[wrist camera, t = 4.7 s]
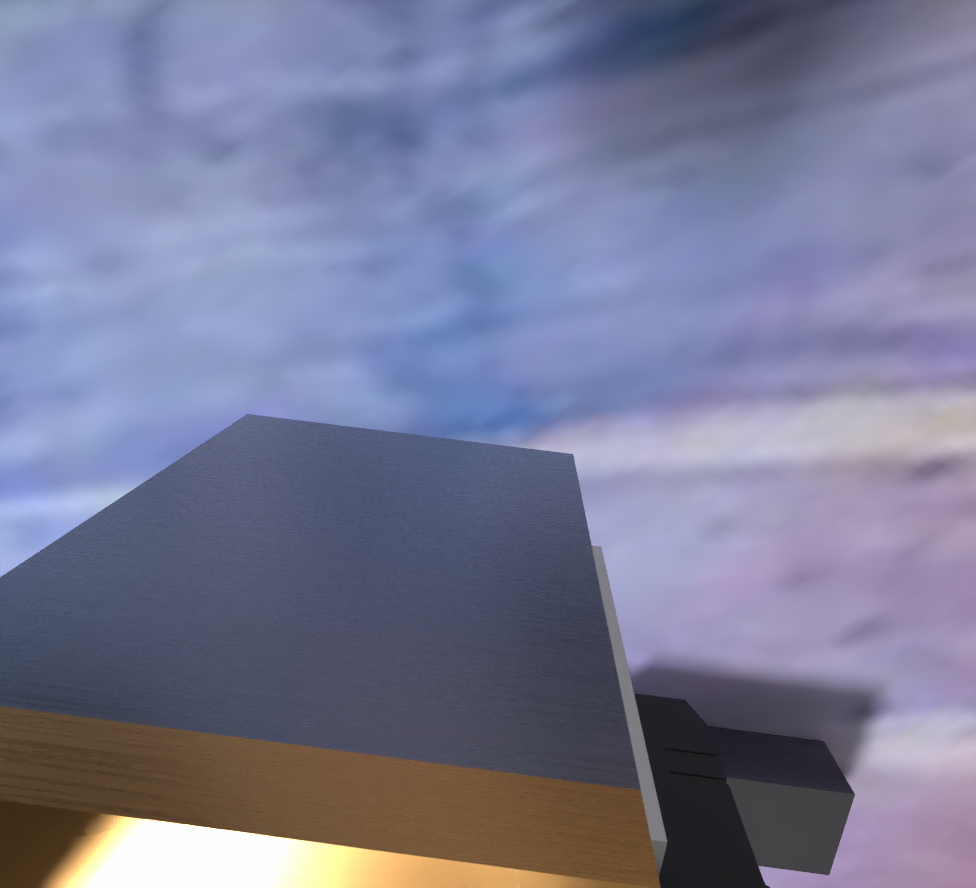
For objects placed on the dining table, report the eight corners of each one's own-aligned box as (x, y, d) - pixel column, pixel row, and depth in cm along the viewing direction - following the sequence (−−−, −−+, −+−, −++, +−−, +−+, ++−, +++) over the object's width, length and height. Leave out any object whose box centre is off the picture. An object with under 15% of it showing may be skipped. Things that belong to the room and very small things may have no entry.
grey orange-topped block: (247, 414, 13) (-281, 763, 4) (572, 454, 13) (660, 887, 4) (244, 690, 15) (-137, 1312, 6) (530, 728, 15) (533, 1411, 6)
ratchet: (294, 780, 30) (221, 948, 23) (300, 639, 28) (222, 774, 21) (792, 847, 30) (876, 1039, 23) (833, 708, 28) (939, 871, 21)
